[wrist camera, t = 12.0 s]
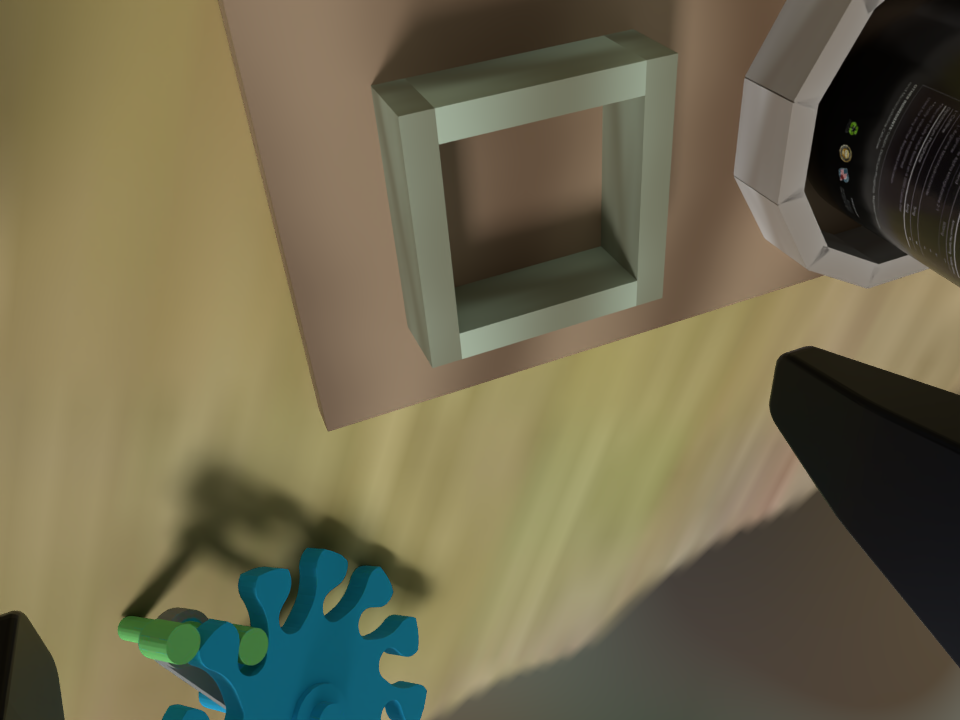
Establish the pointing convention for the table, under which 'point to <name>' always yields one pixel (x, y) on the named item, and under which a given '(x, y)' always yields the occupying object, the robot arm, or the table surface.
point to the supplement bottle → (897, 132)
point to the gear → (288, 649)
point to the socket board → (535, 175)
